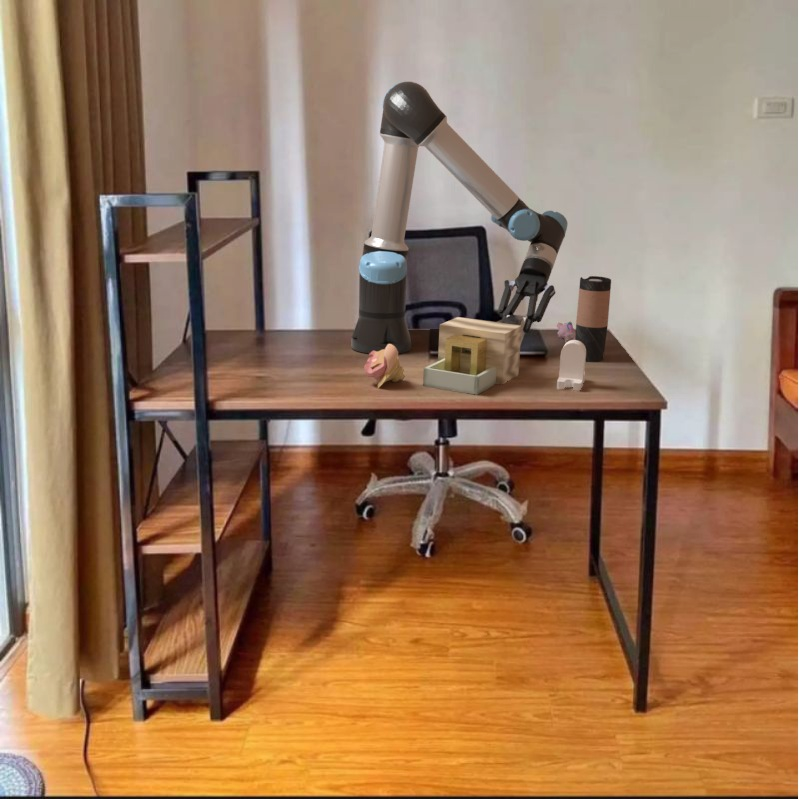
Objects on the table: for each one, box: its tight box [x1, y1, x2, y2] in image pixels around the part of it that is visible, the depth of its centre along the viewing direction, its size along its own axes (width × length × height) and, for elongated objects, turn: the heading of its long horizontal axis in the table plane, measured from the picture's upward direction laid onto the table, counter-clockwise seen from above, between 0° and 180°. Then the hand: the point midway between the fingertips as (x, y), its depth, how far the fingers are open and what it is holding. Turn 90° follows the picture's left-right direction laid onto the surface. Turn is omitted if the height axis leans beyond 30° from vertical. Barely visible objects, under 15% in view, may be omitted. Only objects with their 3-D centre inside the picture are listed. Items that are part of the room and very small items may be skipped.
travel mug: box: [575, 275, 612, 363], centre depth 250 cm, size 8×8×20 cm
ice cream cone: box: [363, 344, 406, 389], centre depth 225 cm, size 9×10×10 cm
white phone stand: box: [556, 340, 586, 391], centre depth 228 cm, size 5×10×10 cm, turn 165°
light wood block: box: [437, 316, 522, 385], centre depth 233 cm, size 10×16×12 cm, turn 62°
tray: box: [422, 358, 497, 396], centre depth 226 cm, size 13×10×4 cm
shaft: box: [466, 314, 527, 351], centre depth 242 cm, size 28×4×4 cm, turn 152°
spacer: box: [445, 334, 487, 376], centre depth 227 cm, size 5×8×9 cm, turn 63°
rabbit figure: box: [556, 321, 576, 344], centre depth 271 cm, size 6×6×15 cm
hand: (509, 340), depth 250 cm, fingers closed on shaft, 3 cm apart
